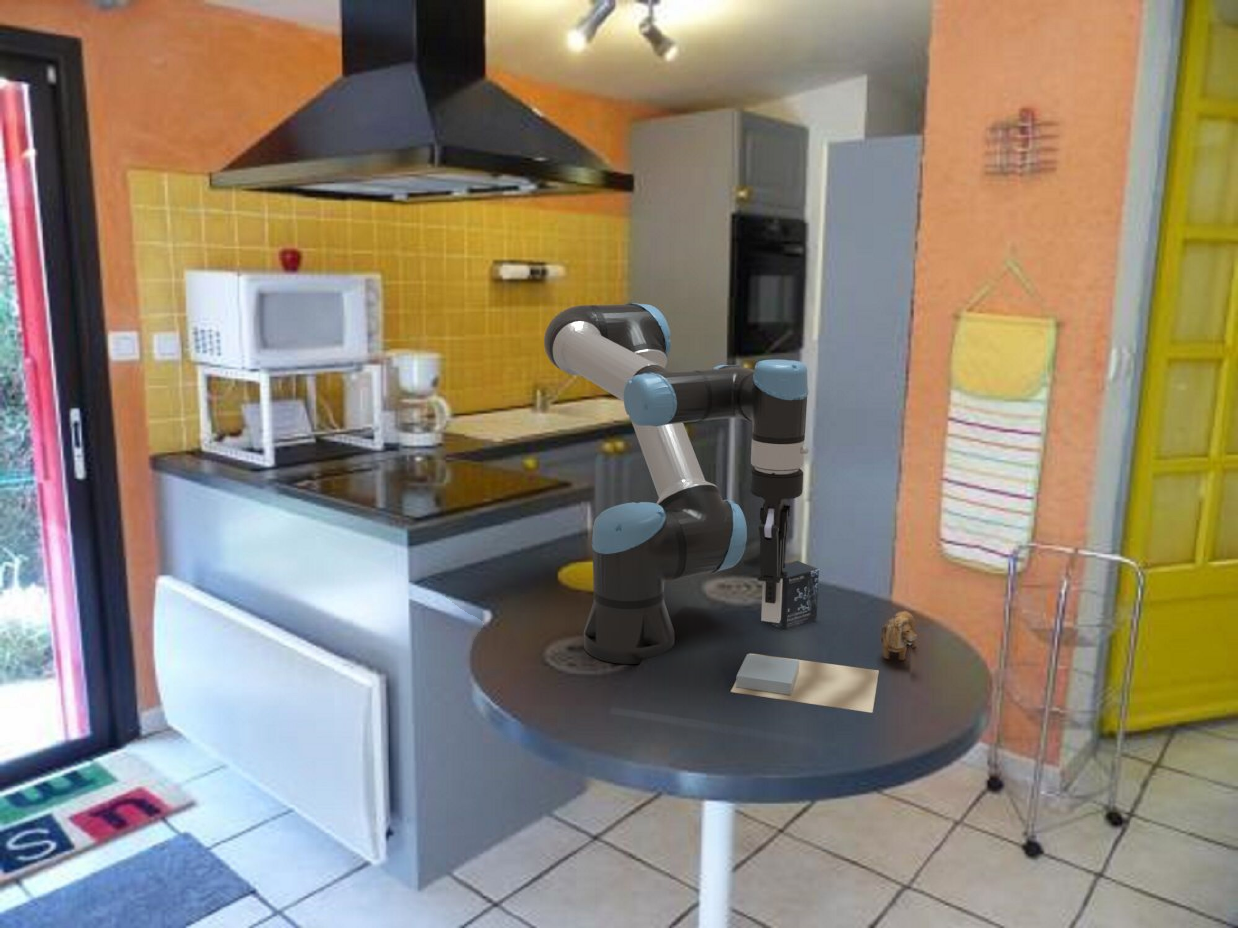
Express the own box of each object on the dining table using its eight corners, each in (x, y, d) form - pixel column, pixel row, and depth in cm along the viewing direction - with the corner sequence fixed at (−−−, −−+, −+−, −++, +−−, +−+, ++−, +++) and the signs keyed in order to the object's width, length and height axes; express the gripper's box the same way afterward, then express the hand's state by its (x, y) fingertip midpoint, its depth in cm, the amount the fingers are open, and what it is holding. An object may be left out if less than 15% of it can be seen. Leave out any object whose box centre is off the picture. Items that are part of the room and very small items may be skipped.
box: (784, 635, 154) (786, 576, 152) (762, 624, 159) (763, 567, 157) (817, 625, 159) (820, 568, 156) (794, 615, 163) (796, 559, 161)
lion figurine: (914, 679, 138) (918, 623, 136) (878, 674, 140) (881, 619, 138) (916, 641, 152) (920, 590, 150) (883, 637, 153) (886, 587, 151)
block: (747, 665, 141) (736, 687, 133) (747, 653, 140) (736, 675, 133) (798, 672, 138) (790, 695, 131) (799, 660, 138) (791, 683, 130)
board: (730, 697, 132) (730, 691, 132) (749, 658, 145) (749, 653, 145) (872, 719, 126) (872, 712, 126) (878, 676, 139) (878, 670, 139)
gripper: (796, 480, 124) (789, 640, 129) (809, 460, 136) (802, 607, 141) (742, 476, 126) (737, 633, 132) (759, 456, 138) (754, 601, 144)
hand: (771, 619), depth 137 cm, fingers closed
